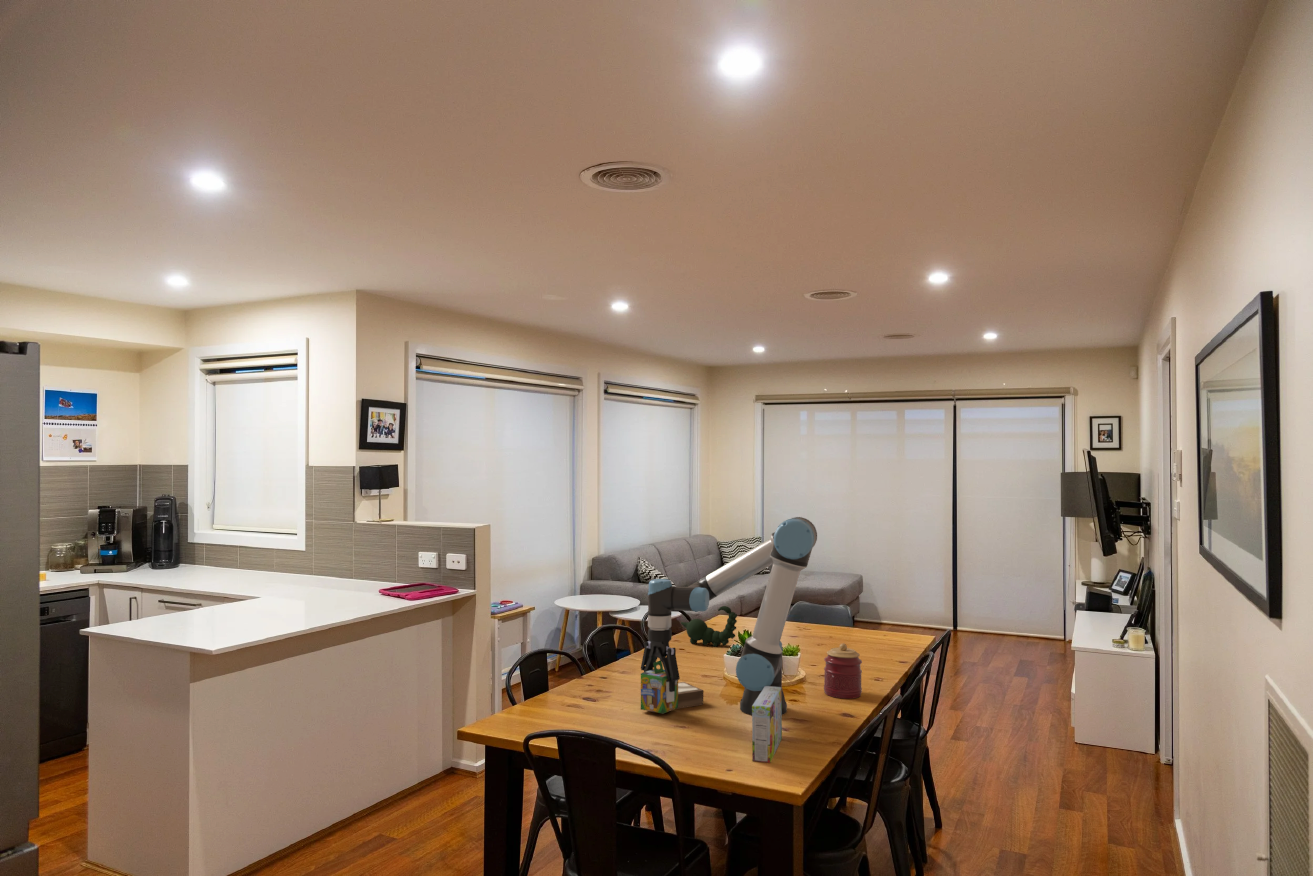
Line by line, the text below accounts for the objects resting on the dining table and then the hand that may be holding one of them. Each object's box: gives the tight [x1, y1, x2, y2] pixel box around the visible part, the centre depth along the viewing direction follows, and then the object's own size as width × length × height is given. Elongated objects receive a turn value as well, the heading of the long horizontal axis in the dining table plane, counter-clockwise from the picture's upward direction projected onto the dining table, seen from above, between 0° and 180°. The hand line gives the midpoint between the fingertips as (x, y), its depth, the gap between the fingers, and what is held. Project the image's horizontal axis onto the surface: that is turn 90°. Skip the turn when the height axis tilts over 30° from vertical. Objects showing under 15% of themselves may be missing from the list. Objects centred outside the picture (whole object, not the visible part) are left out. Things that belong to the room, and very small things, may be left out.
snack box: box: [751, 686, 783, 764], centre depth 230 cm, size 21×6×15 cm, turn 163°
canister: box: [823, 642, 863, 700], centre depth 288 cm, size 13×13×18 cm
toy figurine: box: [680, 605, 738, 648], centre depth 364 cm, size 9×19×25 cm
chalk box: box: [640, 660, 679, 714], centre depth 263 cm, size 9×9×15 cm
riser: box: [675, 681, 704, 710], centre depth 274 cm, size 12×12×5 cm
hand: (659, 697), depth 263 cm, fingers closed on chalk box, 10 cm apart
